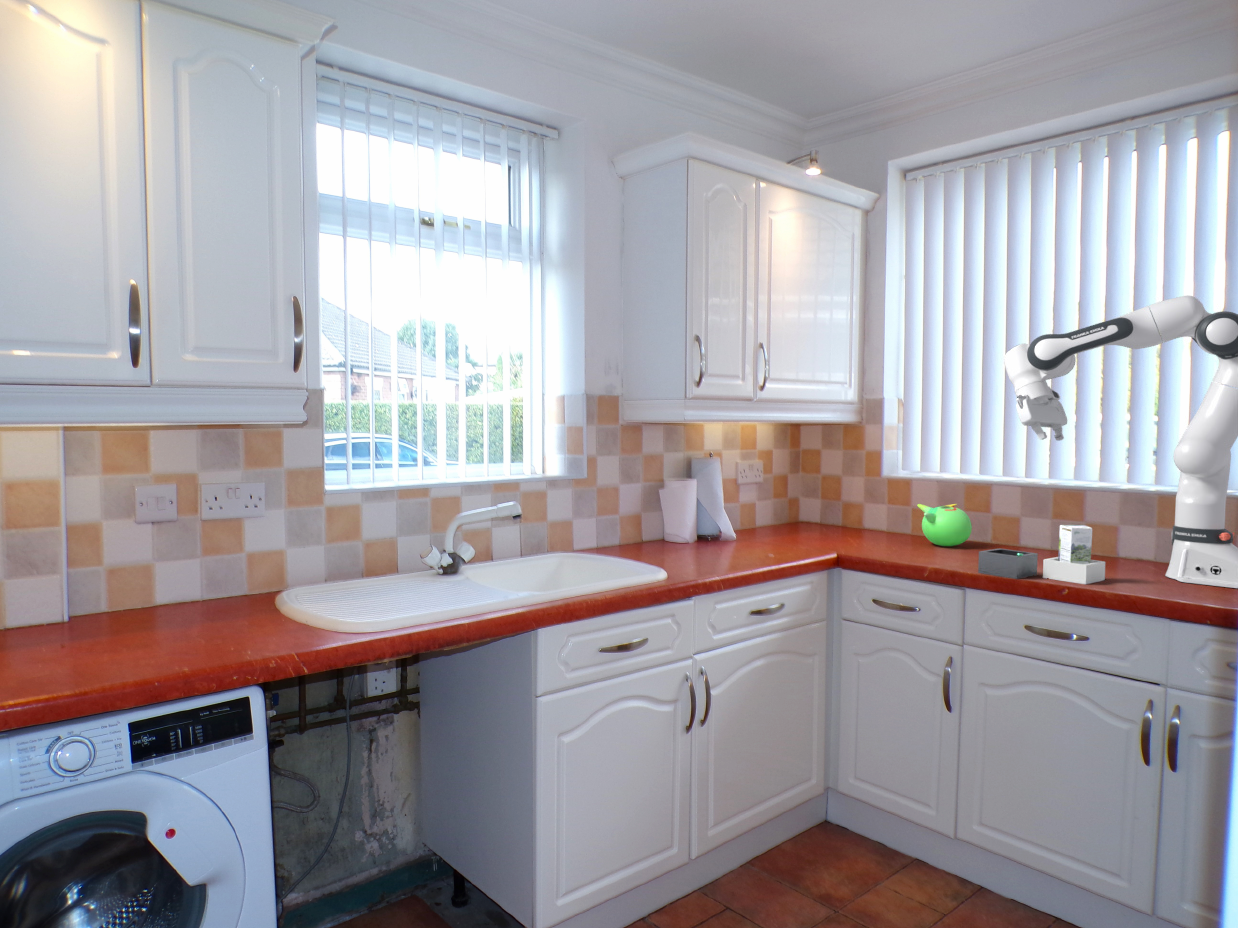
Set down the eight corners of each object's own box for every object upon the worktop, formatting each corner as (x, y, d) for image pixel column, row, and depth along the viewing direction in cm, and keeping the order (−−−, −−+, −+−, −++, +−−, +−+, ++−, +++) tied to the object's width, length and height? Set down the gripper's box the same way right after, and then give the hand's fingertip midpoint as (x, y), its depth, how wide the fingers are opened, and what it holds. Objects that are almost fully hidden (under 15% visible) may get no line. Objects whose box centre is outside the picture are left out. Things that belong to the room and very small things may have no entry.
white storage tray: (1104, 580, 217) (1105, 561, 217) (1085, 584, 211) (1086, 565, 210) (1062, 573, 226) (1063, 556, 226) (1042, 577, 219) (1043, 559, 219)
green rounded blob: (977, 550, 268) (978, 506, 268) (924, 548, 271) (925, 505, 270) (963, 543, 286) (964, 501, 285) (913, 541, 289) (914, 500, 288)
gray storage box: (1037, 574, 224) (1038, 551, 223) (1017, 578, 217) (1017, 554, 217) (998, 569, 232) (999, 546, 232) (978, 572, 226) (978, 549, 226)
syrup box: (1077, 577, 221) (1079, 524, 221) (1090, 581, 215) (1092, 526, 215) (1056, 576, 221) (1058, 524, 220) (1069, 580, 215) (1071, 526, 215)
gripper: (1025, 389, 231) (1043, 433, 227) (1061, 394, 243) (1079, 436, 238) (1005, 399, 236) (1022, 442, 232) (1042, 403, 248) (1059, 444, 243)
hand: (1051, 439), depth 235 cm, fingers open, 8 cm apart
